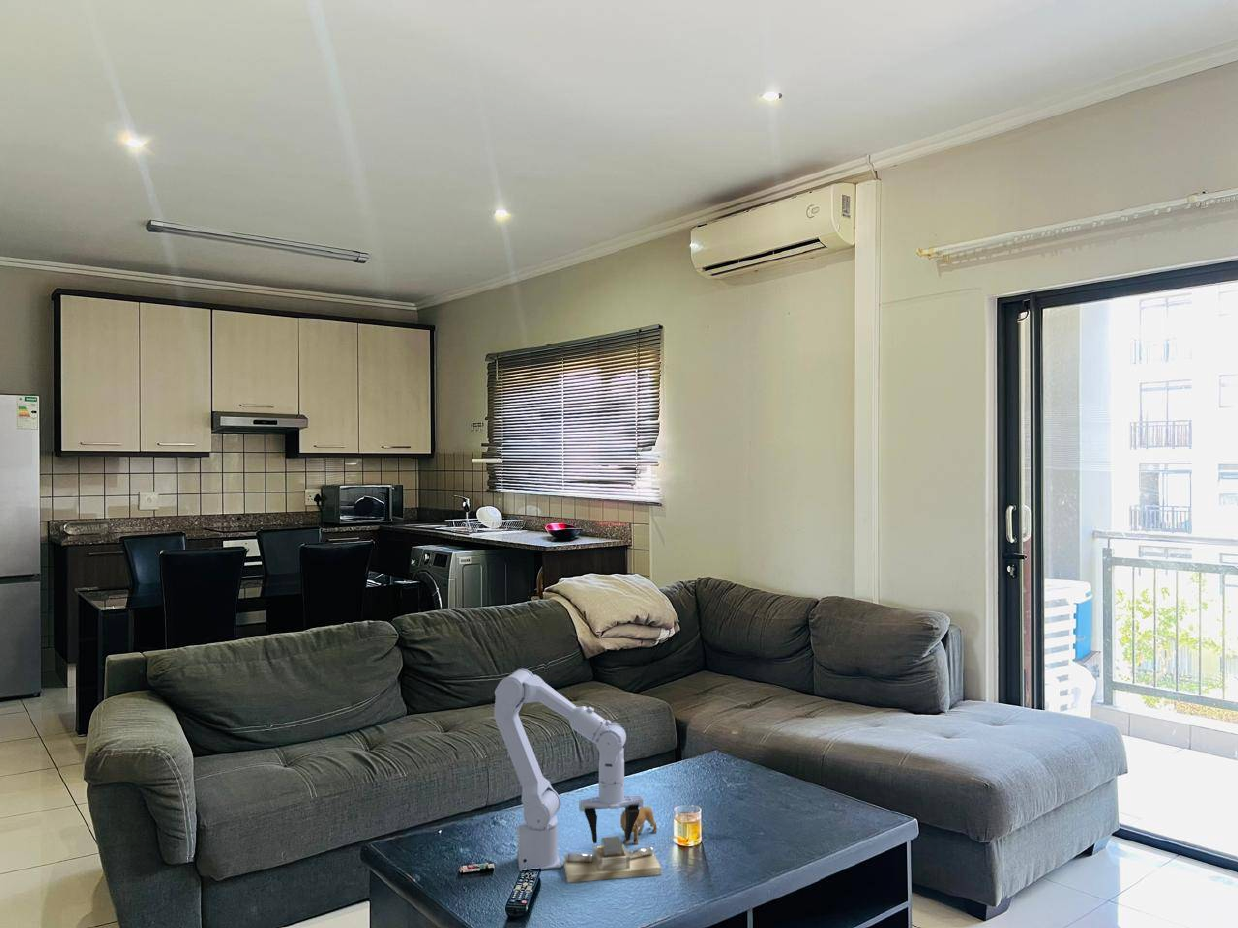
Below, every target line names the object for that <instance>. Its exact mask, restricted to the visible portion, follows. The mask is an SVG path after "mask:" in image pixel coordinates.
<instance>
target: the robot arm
mask: <svg viewBox="0 0 1238 928" xmlns="http://www.w3.org/2000/svg"><path fill="white" fill-rule="evenodd" d="M494 695H495V700H494V701H495V703H494V710H493V716H494V720H495V722H496V725H497V727H498V730H499V733H500V735H501V738H502V740H503V743H504V745H505V748H506V750H507V753H508V755H509V758H510V761H511V763H512V766H513V768H514V770H515V773H516V777H517V778H518V781H519V783H520V787H521V789H522V790H521V791H522V792H521V803H522V806H523V819H524V821H525V822H526V823H523V824H519V825H518V826H517V849H516V859H517V862H518V868H519V872H523V871H522V870H524V869H526V868H527V869H531V868H540V869H541V870H550V869H561V868H562V867H563V864H562V862H561V859H560V855H559V819H558V816H557V813H558V811H560V808H561V805H562V804H561V803H562V801H561V800H562V799H561V796H560V795H559V793H558V792H557V791H556V790H555V789H554V788H553V786H552V785H551V784H552V783H551V782H550V781H549V780H548V779H546V778H545V777H544V775H543V773H542V771H541V768H540V766H539V762H538V760H537V758H536V755H535V753H534V751H533V748H532V746H531V743H530V740H529V738H528V735H527V733H526V731H525V728H524V726H523V724H522V720H521V718H520V715H519V713H520V711H521V708H522V706H523V705H524V704H528V703H529V704H531V703H537V702H538V703H541V704H543V705H544V706H545V707H547V708H549V709H551V710H552V711H554V712H555V713H558V714H559V715H561V716H562V717H564V718H565V719H567V720H568V723H569V727H570V728H571V729H572V730H574V731H575V732H577V733H578V734H580V735H581V736H582V737H584V738H585V739H587V740H589V742H591V743H593V744H595V747H596V749H597V751H598V753H599V754H598V755H599V759H598V796H595V797H591V798H584V799H579V800H578V809H579V812H584V814H585V817H586V819H587V821H588V824H589V828H590V829H589V830H590V835H591V840H592V842H593V844H597V841H598V837H597V821H598V815H597V811H596V810H604V809H606V810H607V809H611V810H615V809H616V810H618V809H621V808H624V810H625V815H626V825H625V833H624V837H626V840H627V841H628V842H629V841H631V836H632V833H633V832H632V829H633V826H634V823H635V821H636V819H637V817H638V816H639V809H640V808H642V807H644V798H643V796H642V795H625V760H624V758H625V757H624V755H625V754H624V750H625V749H624V748H623V746H624V745H625V744H626V741H627V733H626V730H625V729H624V728H623V726H621V725H620V723H618V722H612V721H611V720H609V719H607V720H606V719H604V718H603V717H602V716H600V715H599V714H597V713H596V712H594V711H595V709H594V708H593V707H591V706H589V707H587V706H586V705H583V706H582V705H581V706H576V705H575V704H574V703H572V702H571V701H569V699H567V698H566V697H564V696H563V695H562V694H561V693H559V692H558V691H556V690H555V689H554V688H552V686H550V685H549V684H548V683H547V682H545V681H544V679H542V678H541V676H539V675H537V674H533V673H532V671H530V670H529V669H526V668H519V669H516V670H515V671H513V673H511V674H509V675H508V676H507V677H504V678H502V679H501V680H500V682H499V683H498V685H497V687H496V688H495V691H494ZM631 832H632V833H631Z"/></svg>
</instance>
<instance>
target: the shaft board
mask: <svg viewBox="0 0 1238 928" xmlns="http://www.w3.org/2000/svg"><path fill="white" fill-rule="evenodd" d="M592 848H593V854H592V855H593V856H594V860H593V861H592V862H567V861H565V859H564V857H563V858H562V867H563V870H564V873H565V876H566V880H567V883H568V884H569V883H579V882H580V883H581V882H591V881H601V880H612V879H624V878H633V877H634V878H636V877H637V878H638V877H645V876H646V877H647V876H648V877H649V876H656V875H657V876H658V875H659V874H660V875H662V867H661V865H660V862H659V861H658V859H657V858H656V855H655V854H654V853H653V854H652V855H648V856H643V857H638V858H634V859H630V856H629V854H628V850H627V848H626V846H625V843H622V856H619V857H607V858H601V845H595V846H593V847H592Z"/></svg>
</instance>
